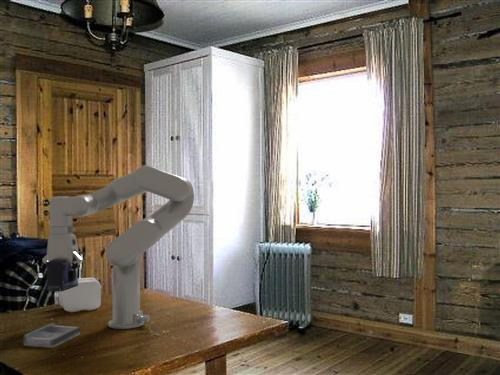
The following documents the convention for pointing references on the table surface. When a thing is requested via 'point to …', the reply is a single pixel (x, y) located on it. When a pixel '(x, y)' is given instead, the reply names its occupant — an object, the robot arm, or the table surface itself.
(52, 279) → the small box
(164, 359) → the table surface
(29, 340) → the rail seat
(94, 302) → the cable organizer
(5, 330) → the table surface
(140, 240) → the robot arm
